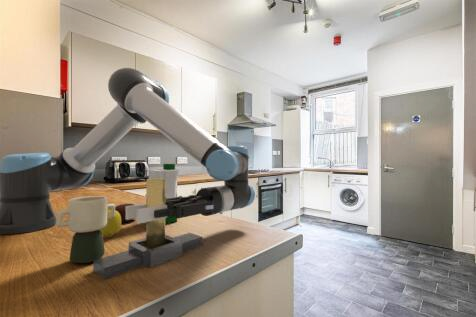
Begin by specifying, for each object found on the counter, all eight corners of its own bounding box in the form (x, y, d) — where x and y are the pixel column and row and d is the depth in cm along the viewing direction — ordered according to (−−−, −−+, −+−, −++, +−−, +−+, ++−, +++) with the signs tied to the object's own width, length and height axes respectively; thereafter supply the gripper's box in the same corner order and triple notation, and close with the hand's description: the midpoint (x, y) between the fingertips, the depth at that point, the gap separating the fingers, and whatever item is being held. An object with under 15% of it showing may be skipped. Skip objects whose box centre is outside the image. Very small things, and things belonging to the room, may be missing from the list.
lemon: (111, 241, 62) (111, 210, 62) (93, 239, 63) (93, 209, 63) (125, 234, 67) (126, 206, 67) (108, 233, 68) (109, 205, 68)
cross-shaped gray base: (89, 268, 46) (89, 252, 46) (184, 238, 64) (184, 227, 64) (108, 283, 40) (109, 265, 40) (207, 246, 58) (207, 234, 58)
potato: (105, 223, 80) (106, 204, 80) (133, 217, 88) (133, 200, 88) (118, 226, 76) (118, 207, 76) (145, 219, 85) (145, 202, 85)
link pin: (142, 251, 52) (143, 178, 52) (158, 246, 55) (159, 178, 55) (152, 256, 49) (152, 179, 50) (168, 250, 52) (169, 178, 53)
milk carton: (180, 221, 82) (181, 164, 82) (155, 226, 76) (155, 164, 76) (169, 217, 88) (170, 163, 89) (145, 221, 82) (145, 163, 83)
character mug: (107, 248, 56) (108, 194, 57) (121, 256, 52) (122, 197, 52) (50, 263, 48) (52, 199, 48) (60, 274, 43) (62, 203, 44)
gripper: (237, 218, 61) (154, 242, 43) (194, 209, 72) (113, 225, 54) (237, 189, 61) (154, 200, 43) (194, 184, 72) (113, 192, 54)
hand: (132, 214), depth 48 cm, fingers closed on link pin, 4 cm apart
